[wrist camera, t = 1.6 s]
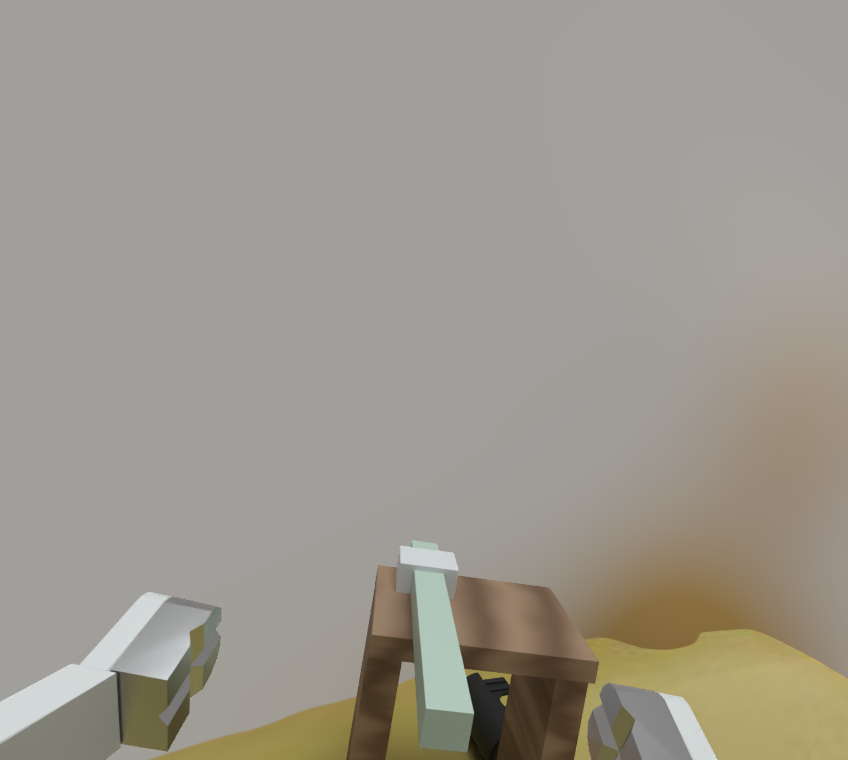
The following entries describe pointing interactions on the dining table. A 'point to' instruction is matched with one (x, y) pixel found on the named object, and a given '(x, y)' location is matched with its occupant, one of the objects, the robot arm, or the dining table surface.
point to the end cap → (487, 712)
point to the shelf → (483, 664)
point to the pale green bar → (436, 647)
